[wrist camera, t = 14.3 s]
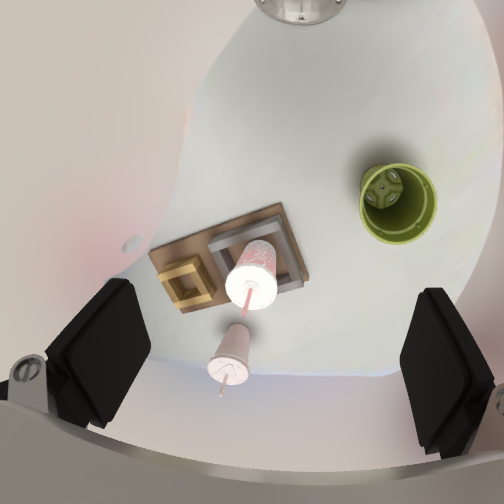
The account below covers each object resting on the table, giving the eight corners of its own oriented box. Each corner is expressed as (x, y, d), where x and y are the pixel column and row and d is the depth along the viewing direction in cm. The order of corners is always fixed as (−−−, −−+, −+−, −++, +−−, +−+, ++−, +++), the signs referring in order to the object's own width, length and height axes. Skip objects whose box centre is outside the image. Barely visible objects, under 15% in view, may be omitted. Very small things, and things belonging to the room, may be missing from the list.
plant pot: (379, 232, 40) (396, 260, 33) (333, 187, 39) (342, 207, 31) (424, 187, 36) (451, 205, 29) (379, 138, 35) (400, 145, 27)
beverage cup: (289, 247, 42) (284, 307, 30) (269, 280, 45) (256, 345, 32) (250, 227, 42) (229, 279, 29) (231, 261, 44) (206, 321, 32)
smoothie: (217, 338, 53) (196, 398, 41) (225, 312, 50) (202, 373, 38) (252, 349, 53) (238, 411, 41) (261, 323, 50) (249, 387, 38)
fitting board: (280, 202, 41) (278, 212, 37) (308, 276, 45) (309, 291, 41) (150, 250, 47) (139, 262, 43) (184, 309, 51) (176, 324, 48)
